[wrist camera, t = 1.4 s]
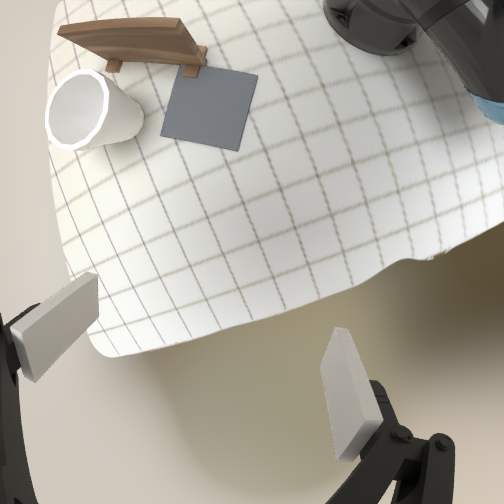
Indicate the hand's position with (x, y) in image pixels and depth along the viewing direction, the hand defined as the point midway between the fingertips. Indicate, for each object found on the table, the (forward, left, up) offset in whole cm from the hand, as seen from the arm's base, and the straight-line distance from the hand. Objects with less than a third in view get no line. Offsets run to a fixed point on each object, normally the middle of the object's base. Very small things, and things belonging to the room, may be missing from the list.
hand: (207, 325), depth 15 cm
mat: (-15, -9, -27) cm, 32 cm away
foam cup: (-11, -21, -27) cm, 36 cm away
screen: (-21, -19, -27) cm, 39 cm away
